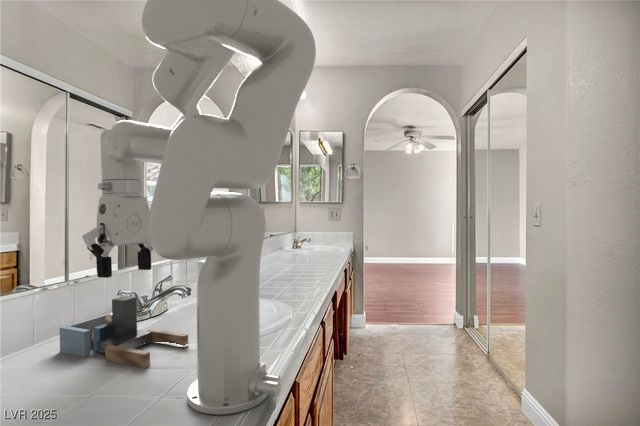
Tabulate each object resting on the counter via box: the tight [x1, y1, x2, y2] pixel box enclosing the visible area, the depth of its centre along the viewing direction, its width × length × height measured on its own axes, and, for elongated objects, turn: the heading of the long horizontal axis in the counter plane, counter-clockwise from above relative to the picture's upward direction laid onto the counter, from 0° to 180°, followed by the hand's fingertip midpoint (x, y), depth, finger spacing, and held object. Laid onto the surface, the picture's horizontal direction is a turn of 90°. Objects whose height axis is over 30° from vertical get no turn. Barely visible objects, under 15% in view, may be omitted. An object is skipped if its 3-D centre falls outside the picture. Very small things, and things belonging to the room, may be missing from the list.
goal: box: [59, 311, 112, 358], centre depth 81 cm, size 7×12×5 cm, turn 158°
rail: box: [104, 328, 189, 369], centre depth 76 cm, size 10×11×2 cm
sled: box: [93, 295, 152, 354], centre depth 78 cm, size 8×8×10 cm
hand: (125, 273), depth 77 cm, fingers open, 9 cm apart
